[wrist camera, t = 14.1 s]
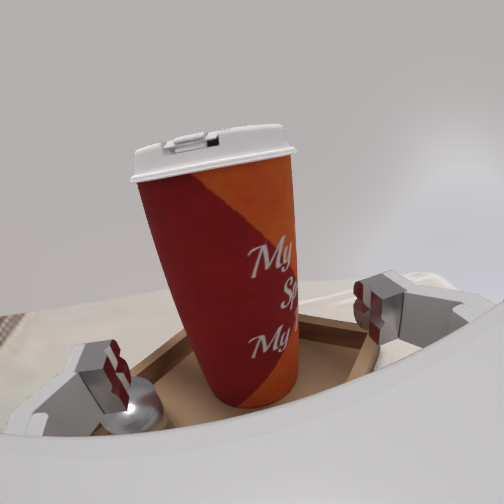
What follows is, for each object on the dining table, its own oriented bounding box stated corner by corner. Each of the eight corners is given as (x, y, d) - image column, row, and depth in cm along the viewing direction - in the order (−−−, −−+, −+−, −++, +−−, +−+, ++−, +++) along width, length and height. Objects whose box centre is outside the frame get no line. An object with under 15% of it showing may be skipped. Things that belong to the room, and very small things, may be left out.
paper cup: (320, 418, 14) (298, 116, 9) (180, 421, 15) (90, 160, 10) (310, 333, 21) (289, 126, 16) (206, 341, 22) (162, 148, 17)
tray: (256, 575, 6) (247, 570, 5) (78, 442, 13) (61, 421, 13) (379, 351, 18) (382, 327, 18) (226, 320, 25) (221, 299, 25)
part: (143, 468, 11) (118, 437, 10) (106, 436, 13) (82, 403, 12) (187, 427, 14) (169, 392, 13) (146, 402, 16) (128, 368, 15)
